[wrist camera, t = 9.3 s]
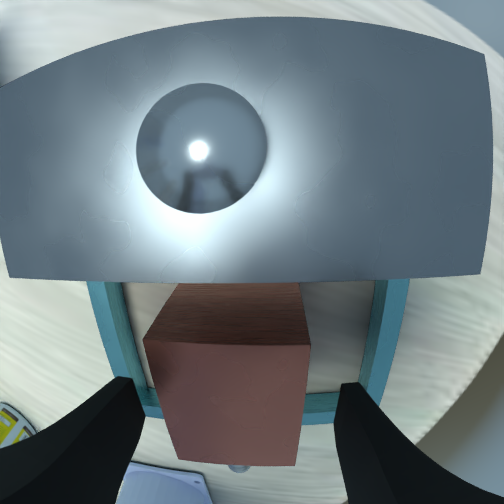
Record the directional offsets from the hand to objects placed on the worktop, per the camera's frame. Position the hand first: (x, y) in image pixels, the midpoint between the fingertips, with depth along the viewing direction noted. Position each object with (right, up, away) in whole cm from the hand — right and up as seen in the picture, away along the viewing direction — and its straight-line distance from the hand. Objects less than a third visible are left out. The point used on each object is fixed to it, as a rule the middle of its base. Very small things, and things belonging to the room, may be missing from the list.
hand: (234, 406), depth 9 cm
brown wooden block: (0, +2, +5) cm, 5 cm away
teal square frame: (0, +4, +4) cm, 6 cm away
